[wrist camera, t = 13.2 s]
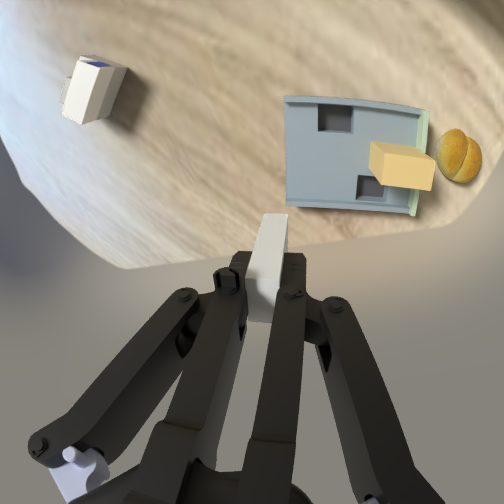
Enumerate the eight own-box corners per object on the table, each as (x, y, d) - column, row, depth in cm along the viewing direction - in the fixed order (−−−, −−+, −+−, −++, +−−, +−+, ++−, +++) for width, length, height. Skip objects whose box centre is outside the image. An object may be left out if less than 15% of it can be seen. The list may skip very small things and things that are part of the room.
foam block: (89, 52, 35) (58, 53, 28) (130, 66, 36) (100, 67, 29) (74, 98, 40) (43, 105, 33) (111, 115, 41) (81, 124, 34)
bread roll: (444, 120, 33) (455, 123, 29) (481, 147, 33) (493, 153, 29) (425, 164, 37) (435, 171, 34) (462, 187, 37) (473, 196, 34)
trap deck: (286, 196, 45) (285, 208, 41) (285, 95, 36) (283, 96, 32) (406, 204, 41) (415, 216, 38) (417, 108, 33) (429, 111, 29)
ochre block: (368, 167, 37) (381, 184, 31) (370, 140, 35) (384, 153, 29) (411, 172, 36) (430, 191, 30) (415, 147, 34) (435, 161, 28)
